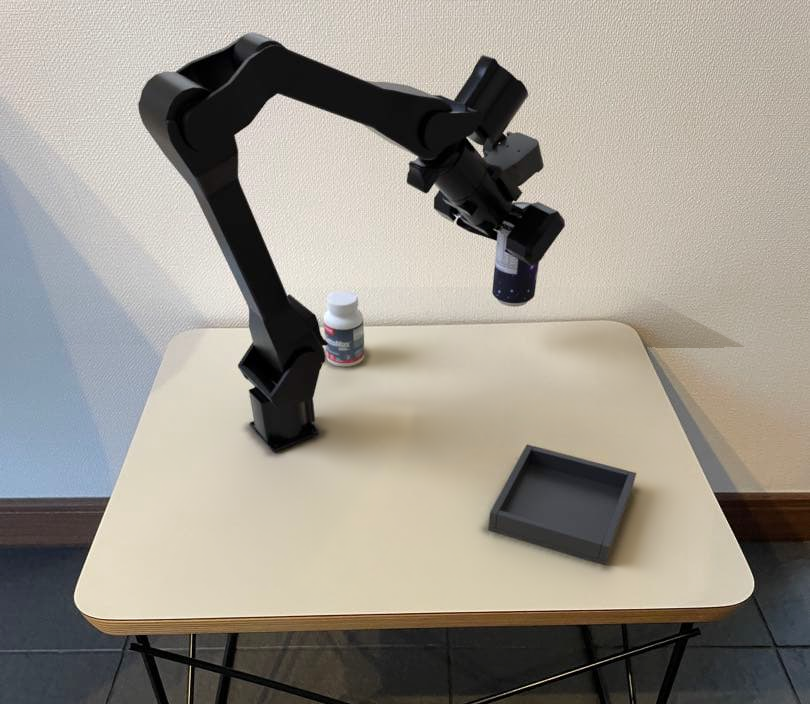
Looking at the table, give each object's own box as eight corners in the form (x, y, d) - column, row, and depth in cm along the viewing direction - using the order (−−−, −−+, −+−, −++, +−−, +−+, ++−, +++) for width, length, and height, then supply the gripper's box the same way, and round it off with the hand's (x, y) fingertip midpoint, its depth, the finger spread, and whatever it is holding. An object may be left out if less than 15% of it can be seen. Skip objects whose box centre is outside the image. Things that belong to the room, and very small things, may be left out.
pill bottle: (319, 361, 105) (313, 301, 98) (339, 343, 108) (334, 284, 102) (352, 371, 103) (349, 310, 97) (371, 353, 106) (369, 293, 100)
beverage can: (531, 311, 101) (544, 220, 93) (489, 307, 102) (497, 216, 93) (535, 291, 105) (547, 202, 97) (494, 287, 106) (502, 198, 97)
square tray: (487, 530, 81) (489, 512, 79) (524, 461, 89) (526, 443, 88) (604, 565, 78) (609, 547, 76) (631, 490, 86) (636, 472, 84)
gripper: (565, 137, 80) (618, 219, 92) (456, 94, 91) (517, 173, 103) (500, 229, 82) (560, 297, 95) (402, 177, 93) (467, 244, 105)
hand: (526, 249), depth 99 cm, fingers closed on beverage can, 5 cm apart
